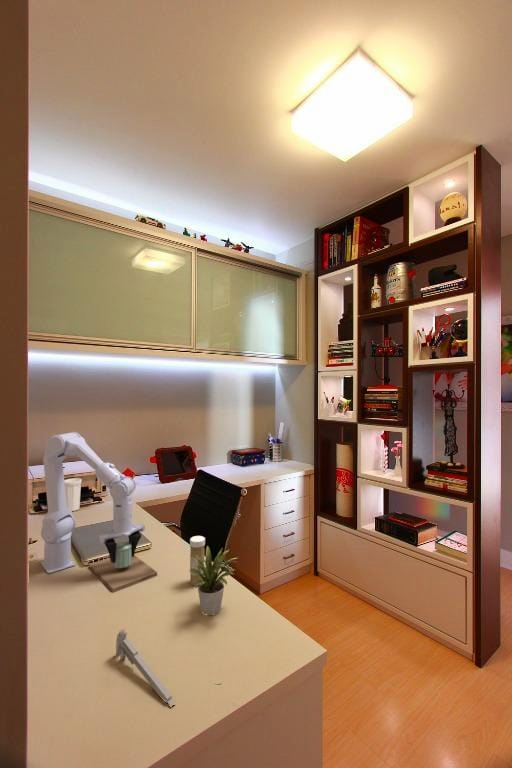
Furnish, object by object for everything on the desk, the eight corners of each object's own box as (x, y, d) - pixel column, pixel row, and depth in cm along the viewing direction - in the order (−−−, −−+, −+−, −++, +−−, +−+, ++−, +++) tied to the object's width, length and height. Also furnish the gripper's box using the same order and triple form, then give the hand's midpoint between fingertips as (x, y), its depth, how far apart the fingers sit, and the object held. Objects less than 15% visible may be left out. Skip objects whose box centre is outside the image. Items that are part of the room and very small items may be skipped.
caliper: (115, 656, 81) (115, 628, 81) (120, 654, 82) (120, 625, 82) (171, 710, 68) (171, 676, 68) (175, 706, 68) (176, 672, 69)
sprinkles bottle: (207, 583, 111) (207, 539, 111) (193, 588, 108) (193, 542, 108) (200, 577, 115) (201, 534, 115) (187, 581, 112) (187, 537, 112)
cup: (58, 512, 173) (59, 482, 173) (70, 506, 181) (70, 477, 181) (74, 513, 172) (74, 482, 172) (85, 507, 180) (85, 478, 180)
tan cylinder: (117, 568, 118) (117, 553, 118) (124, 565, 120) (124, 551, 120) (120, 570, 116) (120, 555, 116) (127, 568, 118) (127, 553, 118)
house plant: (221, 636, 87) (221, 568, 87) (172, 622, 92) (173, 557, 93) (245, 603, 100) (245, 544, 101) (201, 593, 106) (201, 536, 106)
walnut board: (88, 567, 120) (88, 564, 120) (129, 554, 130) (129, 551, 130) (113, 592, 106) (113, 588, 106) (157, 575, 115) (157, 572, 115)
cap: (110, 563, 118) (110, 544, 118) (127, 558, 122) (127, 540, 122) (117, 569, 114) (117, 550, 114) (134, 564, 118) (134, 545, 118)
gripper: (104, 525, 110) (104, 570, 110) (149, 514, 120) (149, 555, 120) (96, 519, 115) (95, 562, 115) (139, 509, 125) (139, 548, 125)
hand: (122, 558), depth 118 cm, fingers closed on cap, 6 cm apart
